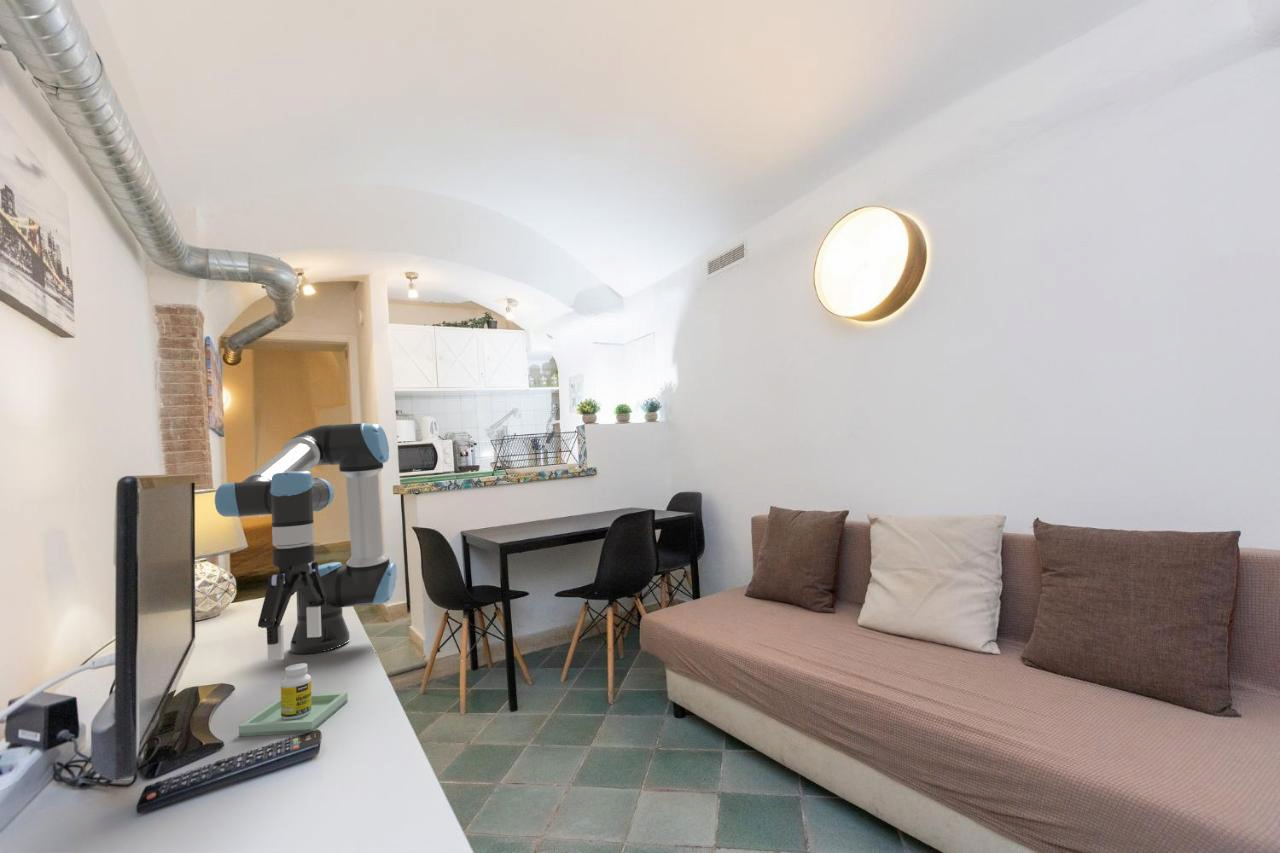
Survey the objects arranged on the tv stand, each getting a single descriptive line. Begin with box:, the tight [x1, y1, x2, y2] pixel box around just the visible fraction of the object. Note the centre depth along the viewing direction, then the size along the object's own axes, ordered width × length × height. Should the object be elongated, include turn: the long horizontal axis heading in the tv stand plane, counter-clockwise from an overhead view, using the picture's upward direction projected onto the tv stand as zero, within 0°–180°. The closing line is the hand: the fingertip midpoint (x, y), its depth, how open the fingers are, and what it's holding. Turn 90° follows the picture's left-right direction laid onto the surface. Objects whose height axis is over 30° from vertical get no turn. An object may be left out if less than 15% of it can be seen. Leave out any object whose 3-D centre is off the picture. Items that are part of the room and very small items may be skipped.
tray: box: [238, 692, 349, 738], centre depth 118 cm, size 14×14×2 cm
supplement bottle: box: [280, 662, 312, 720], centre depth 118 cm, size 5×5×10 cm
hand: (296, 647), depth 119 cm, fingers open, 13 cm apart
